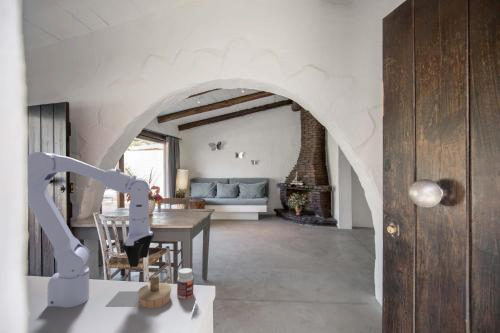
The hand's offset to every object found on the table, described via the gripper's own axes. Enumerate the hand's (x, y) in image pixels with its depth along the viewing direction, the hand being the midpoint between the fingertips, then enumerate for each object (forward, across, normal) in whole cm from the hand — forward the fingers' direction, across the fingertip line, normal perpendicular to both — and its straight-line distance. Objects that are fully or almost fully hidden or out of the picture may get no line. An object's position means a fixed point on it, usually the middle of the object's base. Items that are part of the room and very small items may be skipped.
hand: (139, 261), depth 83 cm
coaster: (+10, -5, +2) cm, 11 cm away
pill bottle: (+10, -3, -15) cm, 18 cm away
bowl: (+10, -6, -7) cm, 14 cm away
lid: (+7, -6, -7) cm, 11 cm away
